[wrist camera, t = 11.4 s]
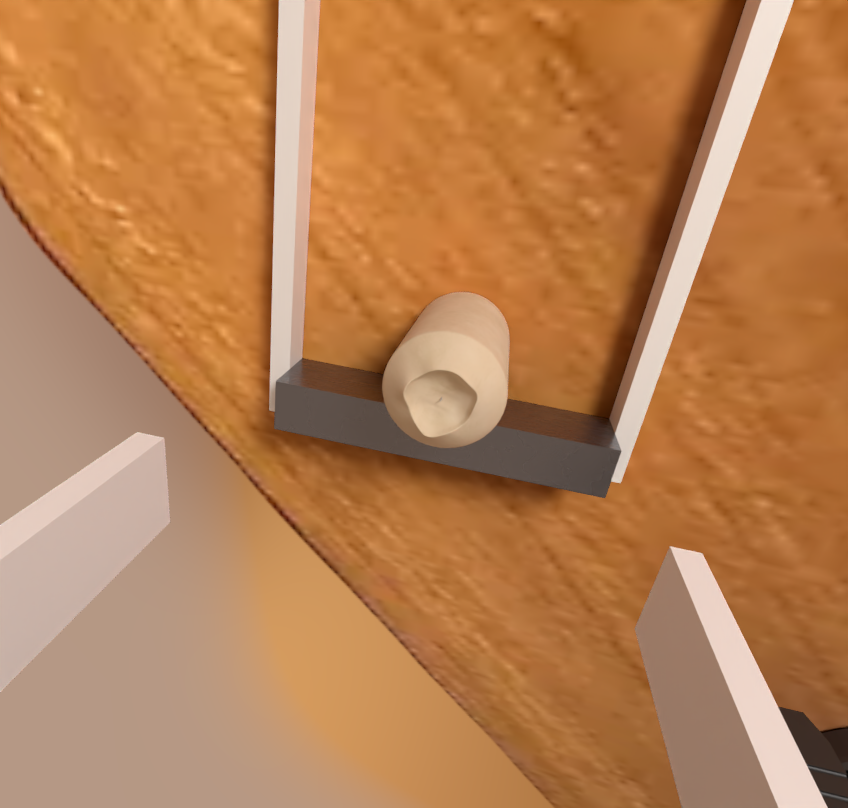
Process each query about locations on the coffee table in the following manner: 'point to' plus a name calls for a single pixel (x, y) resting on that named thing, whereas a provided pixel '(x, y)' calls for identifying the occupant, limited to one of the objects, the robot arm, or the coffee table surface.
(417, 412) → the candle
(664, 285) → the guide track
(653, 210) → the coffee table surface
